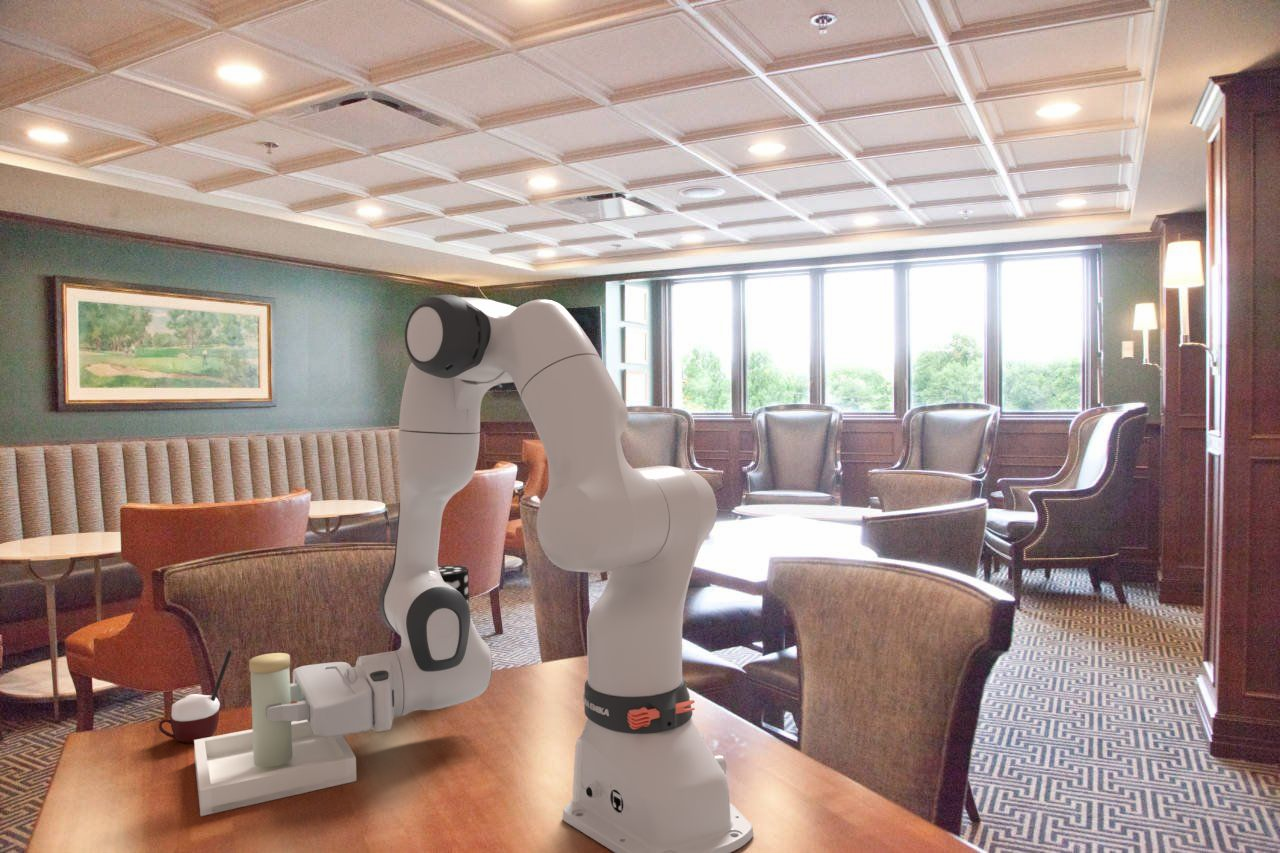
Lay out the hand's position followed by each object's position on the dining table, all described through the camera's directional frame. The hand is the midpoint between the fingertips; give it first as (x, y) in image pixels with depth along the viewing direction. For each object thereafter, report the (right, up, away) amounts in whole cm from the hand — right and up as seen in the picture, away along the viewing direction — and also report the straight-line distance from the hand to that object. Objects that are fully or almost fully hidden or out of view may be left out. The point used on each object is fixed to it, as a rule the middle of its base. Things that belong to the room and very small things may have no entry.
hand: (263, 707), depth 109 cm
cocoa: (-15, -9, +12) cm, 21 cm away
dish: (+1, -8, +1) cm, 9 cm away
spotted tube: (+16, -8, +30) cm, 35 cm away
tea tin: (+1, -7, +1) cm, 7 cm away
